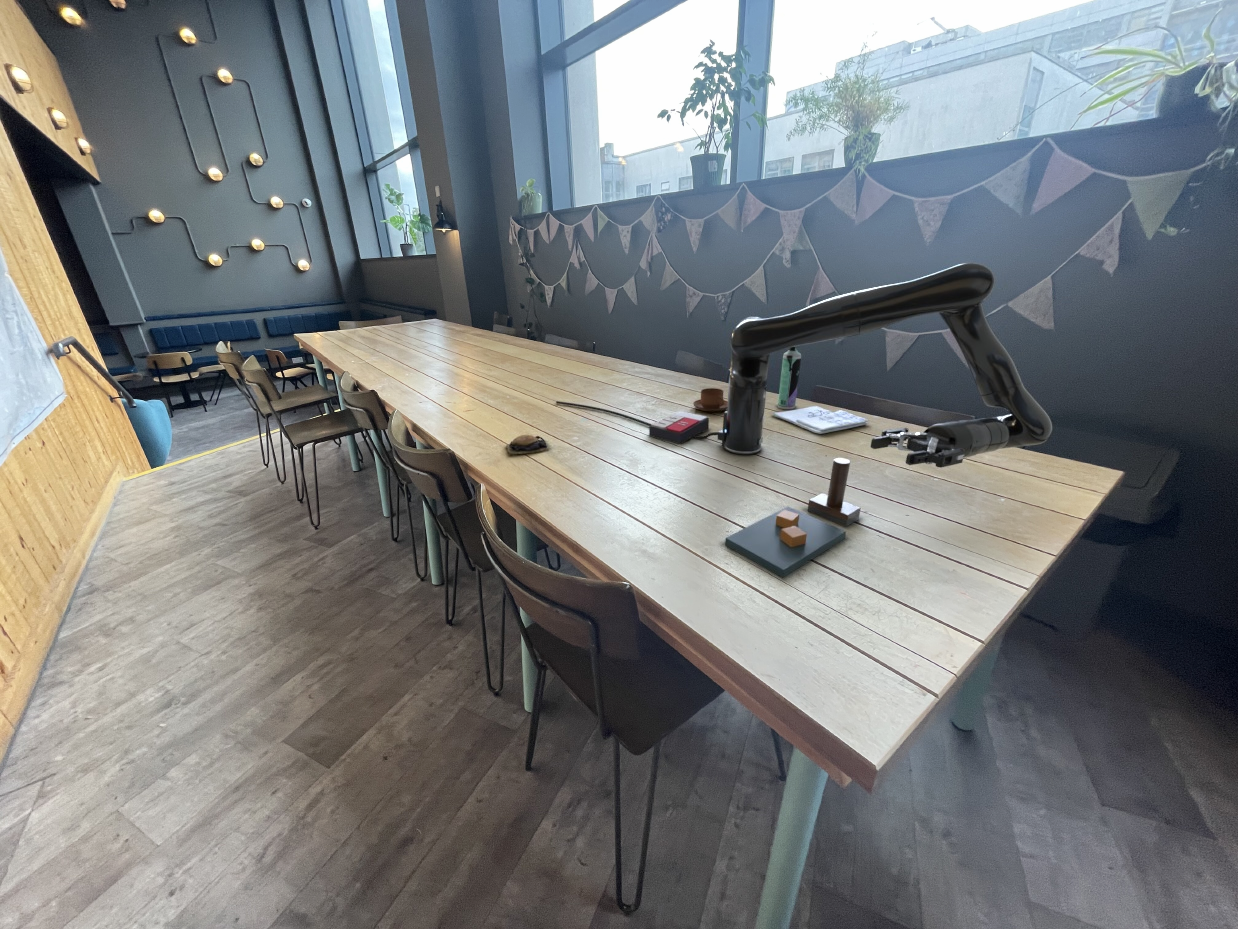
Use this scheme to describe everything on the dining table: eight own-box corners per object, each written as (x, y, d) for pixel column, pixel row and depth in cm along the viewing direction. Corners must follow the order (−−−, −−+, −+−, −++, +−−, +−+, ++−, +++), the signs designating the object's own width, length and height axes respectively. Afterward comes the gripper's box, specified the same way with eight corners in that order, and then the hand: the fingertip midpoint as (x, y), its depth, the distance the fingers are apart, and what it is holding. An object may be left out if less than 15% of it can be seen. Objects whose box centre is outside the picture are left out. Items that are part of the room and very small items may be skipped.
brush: (807, 510, 93) (815, 457, 88) (820, 503, 95) (828, 451, 91) (845, 527, 87) (856, 470, 82) (858, 519, 89) (869, 464, 85)
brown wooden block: (775, 524, 86) (776, 515, 85) (782, 518, 88) (783, 509, 87) (790, 530, 84) (792, 520, 83) (798, 523, 86) (799, 514, 85)
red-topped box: (648, 423, 133) (678, 408, 143) (648, 437, 135) (678, 421, 145) (680, 431, 127) (709, 415, 137) (680, 446, 129) (709, 428, 138)
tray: (724, 544, 83) (725, 537, 82) (787, 512, 92) (788, 506, 92) (782, 577, 74) (783, 570, 73) (844, 538, 84) (846, 531, 83)
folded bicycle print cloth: (819, 435, 131) (821, 428, 130) (771, 416, 148) (771, 409, 147) (869, 425, 138) (870, 418, 137) (817, 407, 155) (818, 401, 154)
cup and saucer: (736, 408, 157) (737, 390, 155) (717, 416, 149) (718, 397, 147) (706, 402, 165) (706, 384, 162) (686, 410, 157) (686, 392, 154)
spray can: (796, 409, 154) (803, 347, 146) (778, 409, 155) (785, 347, 147) (793, 404, 158) (801, 344, 150) (776, 404, 160) (783, 344, 152)
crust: (779, 539, 81) (780, 529, 81) (793, 535, 82) (795, 525, 82) (791, 547, 79) (792, 537, 78) (805, 543, 80) (807, 533, 79)
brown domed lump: (509, 457, 124) (507, 444, 122) (506, 446, 131) (504, 433, 129) (549, 451, 127) (548, 438, 125) (543, 440, 134) (542, 428, 132)
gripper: (929, 412, 98) (864, 421, 94) (997, 433, 85) (926, 445, 81) (921, 445, 101) (858, 456, 97) (985, 471, 88) (916, 484, 84)
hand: (889, 451), depth 89 cm, fingers open, 8 cm apart
